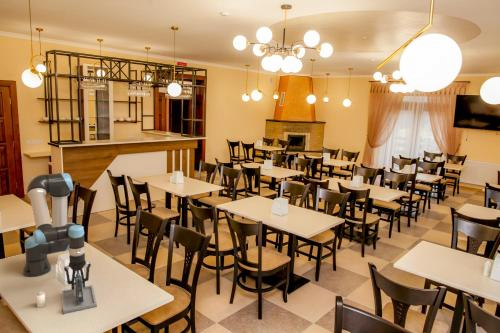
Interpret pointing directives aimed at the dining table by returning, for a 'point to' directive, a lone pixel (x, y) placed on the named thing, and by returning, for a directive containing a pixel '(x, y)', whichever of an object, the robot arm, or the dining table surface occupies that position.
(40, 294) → the shaker
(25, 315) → the dining table surface
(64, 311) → the tray
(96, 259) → the dining table surface
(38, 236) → the robot arm
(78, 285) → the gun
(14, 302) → the dining table surface
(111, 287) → the dining table surface
